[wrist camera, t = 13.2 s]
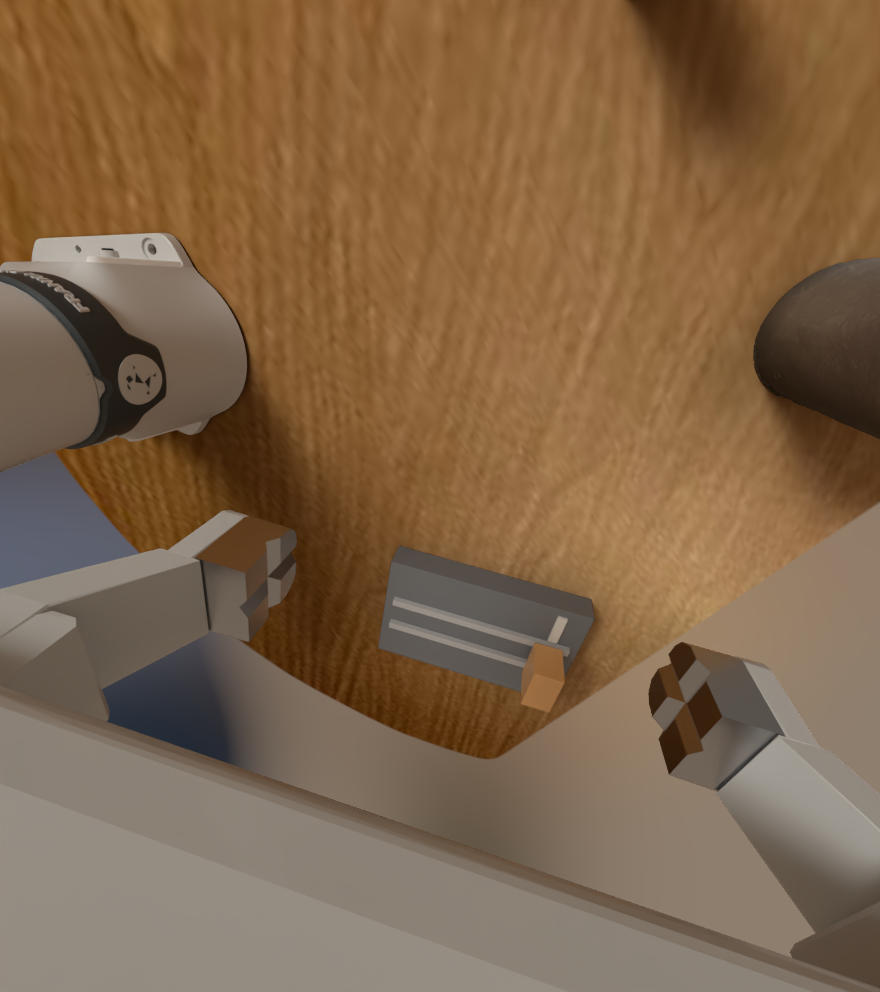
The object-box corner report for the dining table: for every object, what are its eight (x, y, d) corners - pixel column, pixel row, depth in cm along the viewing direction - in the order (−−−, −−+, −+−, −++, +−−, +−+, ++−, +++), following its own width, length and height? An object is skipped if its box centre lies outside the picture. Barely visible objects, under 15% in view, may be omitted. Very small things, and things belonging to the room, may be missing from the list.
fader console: (385, 630, 53) (376, 651, 50) (399, 545, 46) (389, 564, 43) (551, 680, 51) (552, 706, 48) (591, 599, 44) (595, 623, 41)
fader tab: (522, 666, 46) (520, 703, 42) (534, 636, 44) (534, 673, 40) (547, 674, 46) (549, 712, 42) (562, 644, 44) (564, 682, 39)
